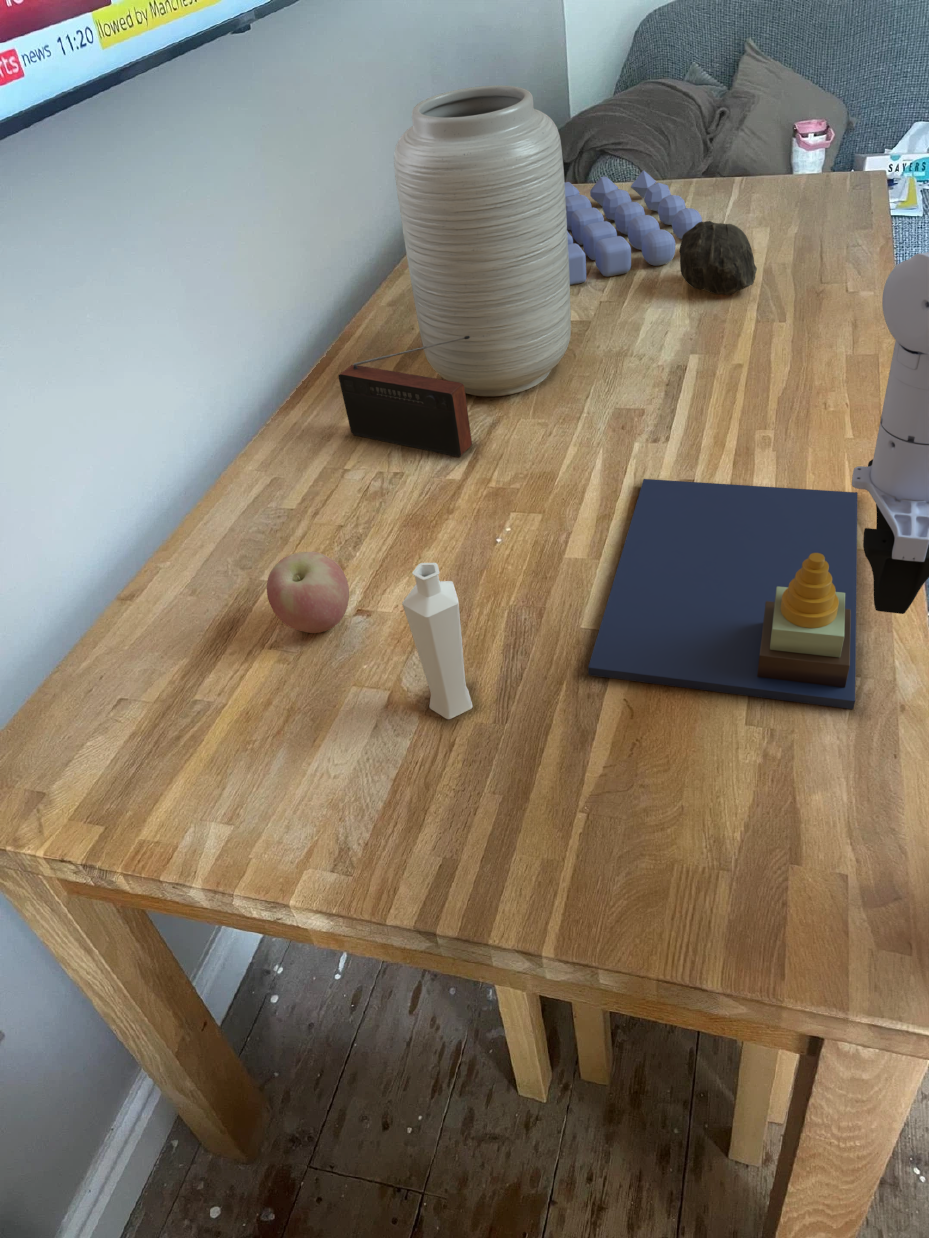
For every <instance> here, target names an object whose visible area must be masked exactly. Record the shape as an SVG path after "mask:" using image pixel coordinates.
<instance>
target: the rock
mask: <svg viewBox="0 0 929 1238" xmlns="http://www.w3.org/2000/svg"><path fill="white" fill-rule="evenodd" d="M678 252H679V266H680V274H681V277H682V278H683V280H684V281H685V282H686V283H687V284H688V285H689V286H690V287H691V288H693V289H697V290H704V291H705V292H708V293H711V294H714V295H723V296H731V295H733V294H735V293H737V292H739V291H741V290H744V289H746V288H749V287H751V286H753V285H754V283H755V279H756V274H757V270H758V268H757V266H756V264H755V257H754V253H753V249H752V246H751V243H750V241H749V238H748V236H747V234H745V232H744V231H743V230H742V229H741V228H739V227H738V226H736V225H734V224H732V223H722V222H713V221H711V220H707V221H702V222H699V223H697V224H696V225H695V226H694V227H693V228H692V229H690V230H689V231H687V232H686V233H685V234H684V235H683V237H682V239H681V242H680V246H679V250H678Z"/></svg>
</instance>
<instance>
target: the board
mask: <svg viewBox="0 0 929 1238" xmlns="http://www.w3.org/2000/svg"><path fill="white" fill-rule="evenodd" d="M812 553H820V554H822V555H824V557H825V561H826V562H827V563H828V564H829V570H828V572H829V573H830V574H831V576H832V583H833V585H834V586H835V589H836V592H842V593H845V609H850V610H851V626H850V667H849V672H848V677H847V682H846V687H845V688H844V687H836V686H828V685H820V684H811V683H803V682H795V681H787V680H779V679H771V678H762V677H757V672H758V664H759V655H760V646H761V637H762V629H763V620H764V611H765V603H766V601H771V602H775V596H776V588H777V586H778V587H789V583H790V582H791V581H792V580H793V579H794V578H795V575H796V573H797V571H798V570H800V569H801V568H802V563H803V562H804V560H806V559H808V558H809V555H810V554H812ZM857 561H858V492H856V491H840V490H824V489H810V488H809V489H808V488H793V487H778V486H764V485H763V486H762V485H749V484H748V485H745V484H731V483H717V482H716V483H714V482H698V481H684V480H683V481H682V480H670V479H669V480H667V479H655V478H654V479H651V478H643V480H642V483H641V486H640V490H639V492H638V497H637V500H636V503H635V507H634V510H633V513H632V517H631V521H630V524H629V527H628V531H627V534H626V536H625V541H624V543H623V548H622V551H621V554H620V558H619V562H618V565H617V568H616V572H615V575H614V578H613V582H612V585H611V588H610V592H609V596H608V598H607V602H606V604H605V605H606V606H605V609H604V612H603V615H602V620H601V622H600V625H599V630H598V633H597V636H596V639H595V643H594V646H593V650H592V653H591V656H590V660H589V663H588V667H587V671H588V673H587V674H588V676H590V677H591V676H593V677H599V678H608V679H616V680H624V681H631V682H638V683H646V684H653V685H654V684H655V685H662V686H671V687H677V688H684V689H693V690H702V691H708V692H717V693H725V694H732V695H740V696H746V697H747V696H748V697H755V698H764V699H771V700H779V701H786V702H787V701H788V702H793V703H794V702H795V703H801V704H803V703H804V704H809V705H818V706H825V707H833V708H840V709H848V710H854V709H855V704H856V673H857V672H856V671H857V669H856V665H857V664H856V663H857V662H856V661H857V660H856V659H857V579H858V578H857V574H858V569H857V568H858V566H857V565H858V564H857V563H858V562H857Z"/></svg>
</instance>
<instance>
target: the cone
mask: <svg viewBox="0 0 929 1238" xmlns="http://www.w3.org/2000/svg"><path fill="white" fill-rule="evenodd" d="M828 570H829V564H828V563H827V562H826V561H825V557H824V555H822V554H820V553H812V554H810V555H809V558H808V559H806V560H804V562H803V563H802V568H801V569H800V570H798V571H797V573H796V575H795V578H794V579H793V580H792V581H791V582H790V583H789V587H788V588H787V589H786V590H785V591H784V593H783V595H782V601H781V612H782V615H783V616H784V617H785V618H786V619H787V620H788V621H789V622H791V623H792V624H795V625H797V626H800V627H805V628H819V627H823V626H826V625H828V624H830V623H831V622H833V621H834V619H835V618H836V616H837V610H838V605H839V600H838V597H837V595H836V594H835V592H836V589H835V586H834V585H833V583H832V576H831V574H830V573H829V572H828Z"/></svg>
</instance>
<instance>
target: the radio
mask: <svg viewBox="0 0 929 1238" xmlns="http://www.w3.org/2000/svg"><path fill="white" fill-rule="evenodd" d="M469 338H470V337H469V336H465V337H464V338H460V339H456V340H452V341H447V342H443V343H439V344H435V345H431V346H427V347H426V346H425V347H423V346H421V347H418V348H413V349H409V350H405V351H401V352H397V353H392V354H386V355H382V356H378V357H375V358H371V359H367V360H362V361H358V362H354V363H353V364H350V365H349V366H348V367H347V368H346V369H344V370H343V371H342V372H341V373H339V374H338V376H337V377H338V382H339V386H340V391H341V395H342V399H343V403H344V407H345V408H344V409H345V412H346V417H347V420H348V424H349V430H350V432H351V434H352V435H353V436H356V437H361V438H366V439H370V440H375V441H380V442H385V443H389V444H395V445H400V446H403V447H409V448H413V449H418V450H423V451H427V452H433V453H437V454H443V455H448V456H452V457H455V458H456V457H457V458H461V457H462V455H464V454H465V453H466V451H467V450H469V449H470V448H471V446H472V445H473V440H472V433H471V426H470V417H469V410H468V404H467V396H466V393H465V388H464V385H463V384H462V383H460V382H454V381H448V380H446V379H443V378H442V379H441V378H436V377H431V376H430V377H429V376H424V375H417V374H411V373H407V372H406V373H405V372H399V371H394V370H388V369H383V368H376V367H369V366H365V365H363V364H368V363H372V362H376V361H381V360H385V359H389V358H392V357H395V356H396V357H397V356H400V355H404V354H408V353H409V354H410V353H412V352H418V351H421V350H424V349H426V348H428V347H433V346H437V345H441V344H445V343H449V342H454V341H458V340H462V339H469Z"/></svg>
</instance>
